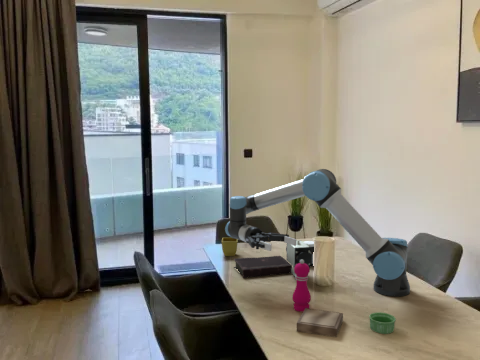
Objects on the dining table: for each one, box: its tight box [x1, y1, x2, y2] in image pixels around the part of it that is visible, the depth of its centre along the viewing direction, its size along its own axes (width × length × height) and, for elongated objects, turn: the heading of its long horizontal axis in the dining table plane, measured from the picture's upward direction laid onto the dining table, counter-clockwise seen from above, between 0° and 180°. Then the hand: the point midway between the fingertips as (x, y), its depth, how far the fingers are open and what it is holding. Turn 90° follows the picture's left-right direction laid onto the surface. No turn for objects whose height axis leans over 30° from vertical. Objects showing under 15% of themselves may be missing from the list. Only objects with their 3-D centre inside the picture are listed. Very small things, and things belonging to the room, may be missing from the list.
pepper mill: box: [291, 259, 312, 313], centre depth 182 cm, size 7×7×20 cm
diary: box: [233, 255, 293, 279], centre depth 232 cm, size 19×25×5 cm
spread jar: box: [303, 240, 315, 268], centre depth 240 cm, size 12×11×12 cm
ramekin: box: [368, 311, 397, 335], centre depth 165 cm, size 9×9×4 cm
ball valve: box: [285, 239, 312, 278], centre depth 220 cm, size 18×8×18 cm, turn 11°
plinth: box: [296, 308, 344, 338], centre depth 168 cm, size 14×14×3 cm
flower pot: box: [221, 237, 239, 257], centre depth 258 cm, size 9×9×9 cm
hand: (283, 245), depth 189 cm, fingers open, 13 cm apart
